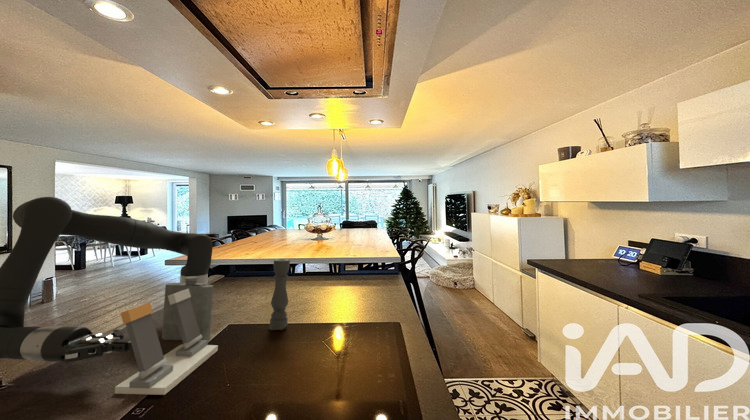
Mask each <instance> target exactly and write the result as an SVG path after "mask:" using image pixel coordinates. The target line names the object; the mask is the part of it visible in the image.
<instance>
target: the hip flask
mask: <svg viewBox="0 0 750 420" xmlns="http://www.w3.org/2000/svg"><path fill="white" fill-rule="evenodd" d="M185 280H186V283H180V282H169V283H165V286H164V287H165V289H164V301H163V303H164V304H163V317H162V332H161V339H162V340H164V341H167V340H170V341H171V340H173V341H174V340H176V341H182V338H181V334H180V331H179V327H178V324H177V320H176V317H175V313H174V310H173V307H172V304H171V305H170V302H169V299H168V296H169V295H171V294H174V293H177V292H180V291H183V290H186V289H189V292H190V295H191V297H190V300H191V304H192V307H193V310H194V314H195V317H196V321H197V324H198V328H199V331H200V334H201V335H202V339H200V340H208V342H210V340H211V328H212V316H213V315H212V313H213V311H212V310H213V298H214V285H213V284H208V283H207V284H202V283H197V281H196V280H198V277H196V276H192V277H185Z"/></svg>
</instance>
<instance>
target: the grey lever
mask: <svg viewBox="0 0 750 420" xmlns="http://www.w3.org/2000/svg"><path fill="white" fill-rule="evenodd" d="M190 297H191V295H190V292H189V289H186V290H183V291H180V292H177V293H174V294H171V295H169V296H168V299H169V302H170V305H171V304H172V307H173V310H174V313H175V317H176V320H177V324H178V327H179V331H180V334H181V338H182V340H181V341H182V344H183V348H184V349H187V348H189V347H190V346H192V345H193V344H195V343H196V342H197V341H199V340H200V339H202V335H201V334H200V331H199V328H198V324H197V321H196V317H195V314H194V310H193V307H192V304H191V300H190Z"/></svg>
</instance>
